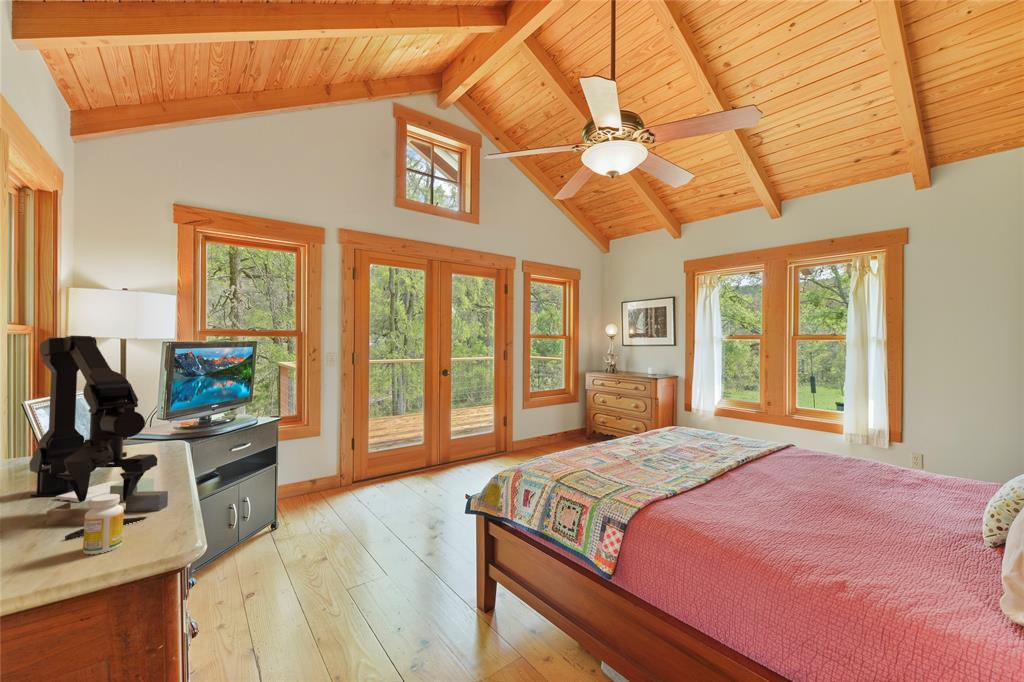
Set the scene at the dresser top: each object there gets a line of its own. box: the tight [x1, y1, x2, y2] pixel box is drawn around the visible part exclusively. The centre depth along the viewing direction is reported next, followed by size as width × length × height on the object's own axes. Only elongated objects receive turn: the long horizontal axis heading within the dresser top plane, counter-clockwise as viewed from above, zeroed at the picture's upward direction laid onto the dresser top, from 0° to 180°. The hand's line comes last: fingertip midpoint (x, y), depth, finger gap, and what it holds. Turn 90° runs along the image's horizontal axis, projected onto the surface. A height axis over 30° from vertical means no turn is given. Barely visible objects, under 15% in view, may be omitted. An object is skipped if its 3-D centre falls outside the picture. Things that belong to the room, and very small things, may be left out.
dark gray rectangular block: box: [125, 490, 169, 512], centre depth 102 cm, size 7×3×4 cm, turn 98°
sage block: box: [110, 477, 155, 502], centre depth 109 cm, size 6×6×4 cm
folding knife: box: [64, 516, 148, 541], centre depth 90 cm, size 13×1×2 cm, turn 147°
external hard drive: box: [54, 480, 120, 503], centre depth 112 cm, size 2×8×12 cm
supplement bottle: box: [82, 494, 125, 556], centre depth 82 cm, size 5×5×10 cm
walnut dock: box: [46, 502, 92, 526], centre depth 94 cm, size 10×5×3 cm, turn 98°
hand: (104, 501), depth 100 cm, fingers open, 9 cm apart
